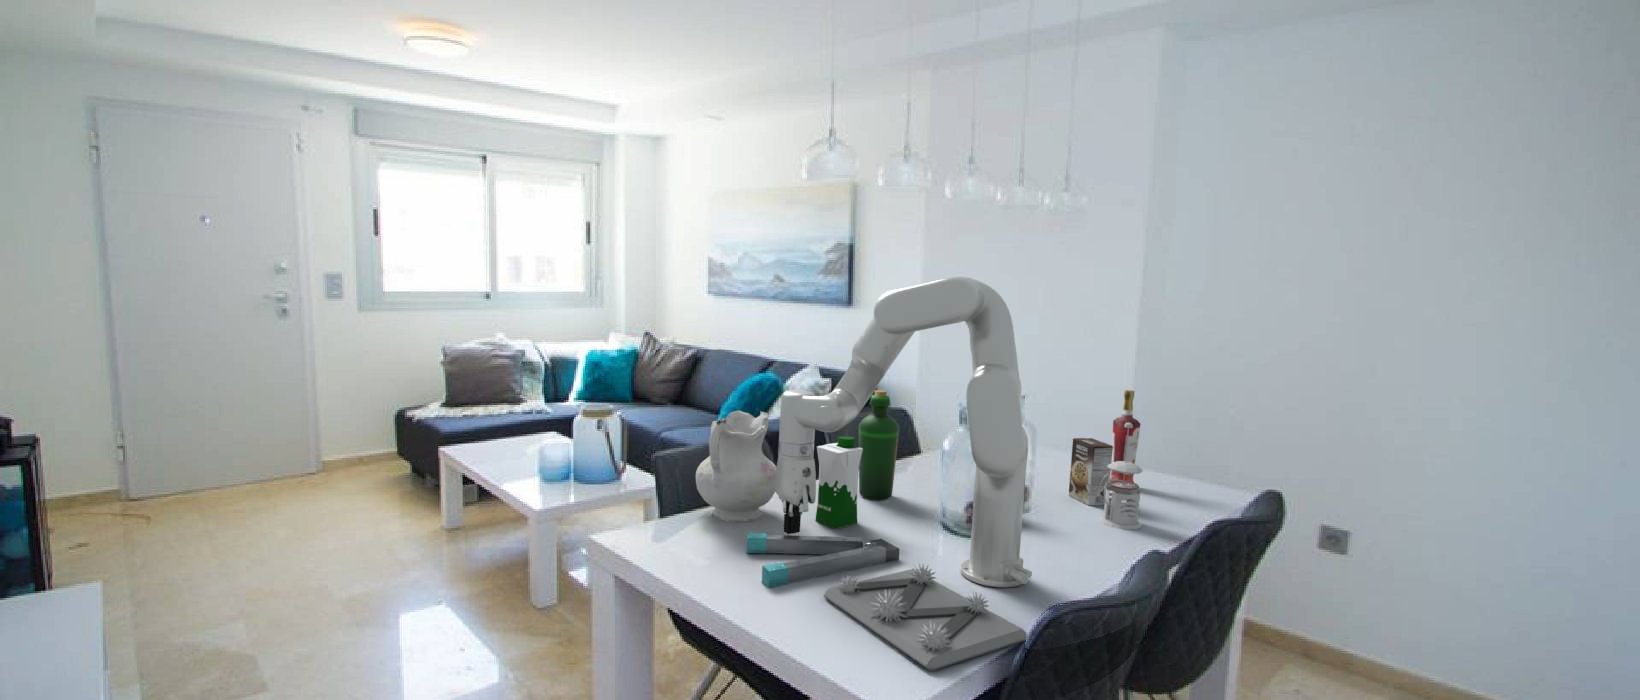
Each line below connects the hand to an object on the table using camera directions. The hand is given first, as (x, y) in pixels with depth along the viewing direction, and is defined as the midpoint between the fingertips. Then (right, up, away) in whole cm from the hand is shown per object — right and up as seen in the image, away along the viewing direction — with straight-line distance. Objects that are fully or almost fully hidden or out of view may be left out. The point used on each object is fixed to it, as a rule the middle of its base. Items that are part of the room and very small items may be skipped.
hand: (791, 531), depth 163 cm
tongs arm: (+4, -3, -6) cm, 8 cm away
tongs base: (+8, -4, -12) cm, 15 cm away
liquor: (+93, -1, +57) cm, 109 cm away
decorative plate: (+23, -8, -33) cm, 41 cm away
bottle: (+21, 0, +37) cm, 42 cm away
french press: (+79, -4, +23) cm, 83 cm away
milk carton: (+10, -2, +15) cm, 18 cm away
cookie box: (+78, -2, +41) cm, 89 cm away
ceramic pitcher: (-14, 0, +17) cm, 22 cm away
